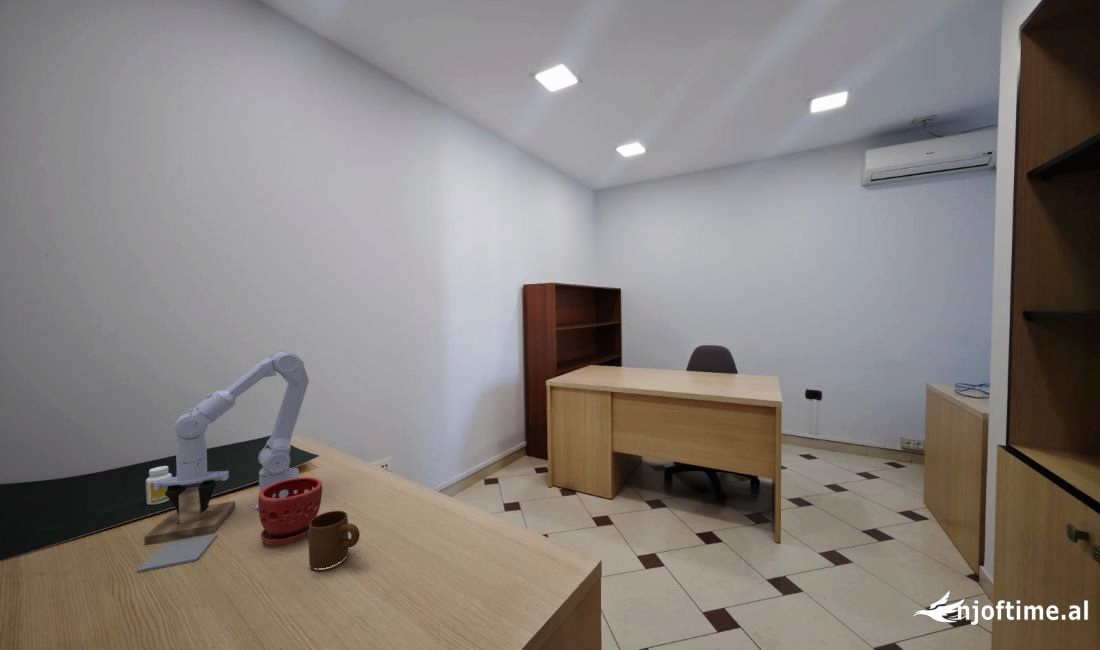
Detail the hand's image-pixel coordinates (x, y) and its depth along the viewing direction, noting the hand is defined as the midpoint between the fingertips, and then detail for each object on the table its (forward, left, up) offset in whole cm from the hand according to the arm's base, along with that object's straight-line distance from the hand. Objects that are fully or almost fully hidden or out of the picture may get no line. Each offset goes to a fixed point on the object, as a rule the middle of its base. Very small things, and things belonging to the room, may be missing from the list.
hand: (193, 511), depth 98 cm
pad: (-3, +14, -4) cm, 15 cm away
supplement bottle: (+16, -21, -4) cm, 27 cm away
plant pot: (-25, +15, -4) cm, 29 cm away
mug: (-37, +32, -4) cm, 49 cm away
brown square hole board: (0, 0, -4) cm, 4 cm away
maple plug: (0, 0, -3) cm, 3 cm away
